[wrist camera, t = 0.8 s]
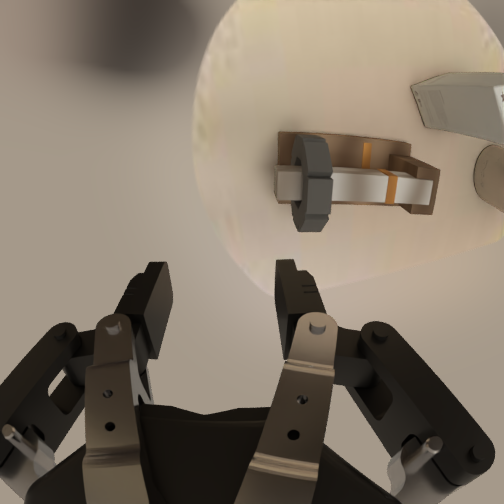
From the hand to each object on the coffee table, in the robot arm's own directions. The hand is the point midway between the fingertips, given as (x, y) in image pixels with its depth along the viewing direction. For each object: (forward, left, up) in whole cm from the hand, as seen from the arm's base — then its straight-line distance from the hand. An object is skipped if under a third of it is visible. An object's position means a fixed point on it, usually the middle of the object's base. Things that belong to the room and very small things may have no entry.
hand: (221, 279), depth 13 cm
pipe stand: (-13, 0, -22) cm, 26 cm away
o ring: (-7, 0, -20) cm, 21 cm away
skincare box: (-26, -11, -23) cm, 36 cm away
